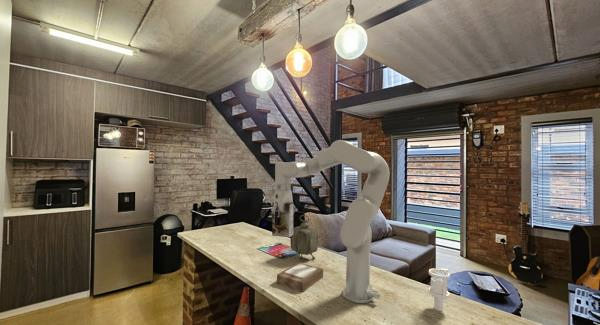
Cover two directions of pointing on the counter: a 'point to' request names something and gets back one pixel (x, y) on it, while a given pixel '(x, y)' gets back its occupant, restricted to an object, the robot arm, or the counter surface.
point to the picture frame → (300, 276)
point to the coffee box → (284, 222)
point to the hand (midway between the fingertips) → (282, 223)
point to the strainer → (439, 287)
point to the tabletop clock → (304, 239)
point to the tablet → (279, 251)
